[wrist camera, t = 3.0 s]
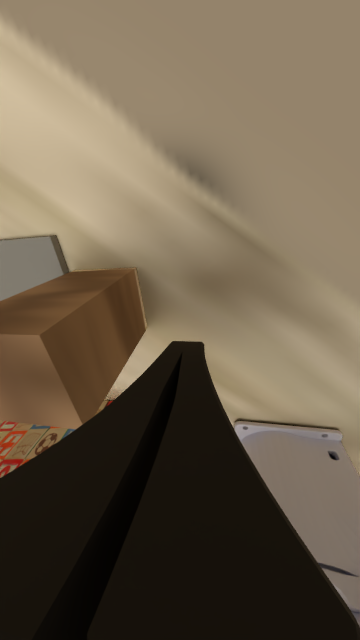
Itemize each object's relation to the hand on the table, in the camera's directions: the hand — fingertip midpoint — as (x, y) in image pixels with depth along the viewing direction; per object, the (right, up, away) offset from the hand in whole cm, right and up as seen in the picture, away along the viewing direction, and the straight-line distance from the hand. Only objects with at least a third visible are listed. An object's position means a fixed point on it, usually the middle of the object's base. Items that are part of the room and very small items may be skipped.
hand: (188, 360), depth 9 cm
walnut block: (-6, +3, +7) cm, 10 cm away
